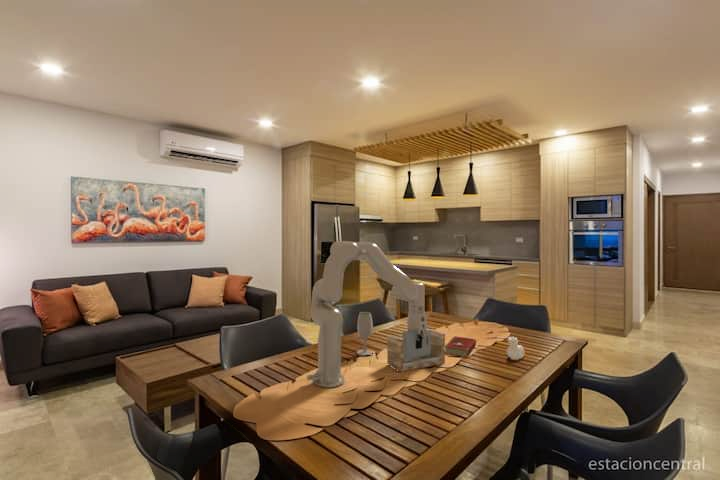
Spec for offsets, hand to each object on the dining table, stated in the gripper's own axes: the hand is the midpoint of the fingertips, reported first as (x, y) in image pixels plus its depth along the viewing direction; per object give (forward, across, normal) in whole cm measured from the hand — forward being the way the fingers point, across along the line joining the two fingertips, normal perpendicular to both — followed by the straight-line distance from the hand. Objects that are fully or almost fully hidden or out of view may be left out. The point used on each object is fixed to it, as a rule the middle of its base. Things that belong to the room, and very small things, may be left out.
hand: (416, 346), depth 178 cm
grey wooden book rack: (+8, 0, 0) cm, 8 cm away
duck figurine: (+9, -15, -49) cm, 52 cm away
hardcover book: (+9, +8, -34) cm, 36 cm away
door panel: (+4, 0, 0) cm, 4 cm away
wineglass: (+8, +24, +15) cm, 30 cm away
